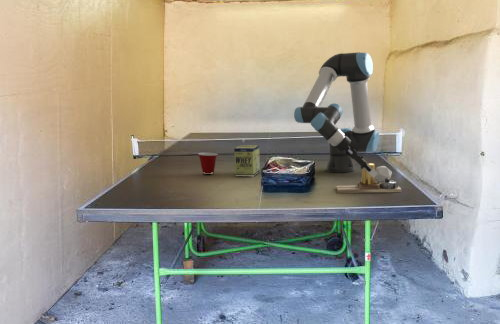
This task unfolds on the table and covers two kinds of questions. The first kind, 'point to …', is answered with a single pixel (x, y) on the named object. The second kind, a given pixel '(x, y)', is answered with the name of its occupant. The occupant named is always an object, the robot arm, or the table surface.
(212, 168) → the plastic cup
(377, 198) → the table surface
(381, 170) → the pale rock
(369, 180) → the brass gear
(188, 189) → the table surface
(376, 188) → the gear board
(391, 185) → the gear
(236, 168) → the protein box
